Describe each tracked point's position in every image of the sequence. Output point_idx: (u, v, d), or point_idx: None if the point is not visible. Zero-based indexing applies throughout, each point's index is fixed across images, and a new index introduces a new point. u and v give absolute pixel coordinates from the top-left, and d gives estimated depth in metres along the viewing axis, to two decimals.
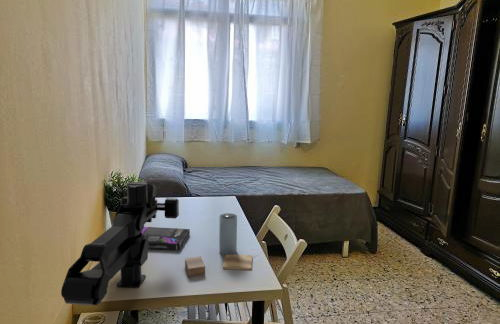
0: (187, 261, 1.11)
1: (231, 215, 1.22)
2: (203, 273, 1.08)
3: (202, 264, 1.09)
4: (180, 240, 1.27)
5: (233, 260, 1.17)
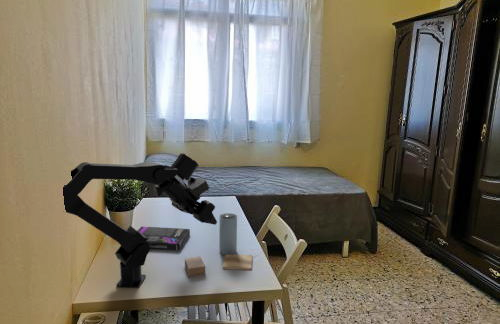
0: (187, 261, 1.11)
1: (231, 215, 1.22)
2: (203, 273, 1.08)
3: (202, 264, 1.09)
4: (180, 240, 1.27)
5: (233, 260, 1.17)
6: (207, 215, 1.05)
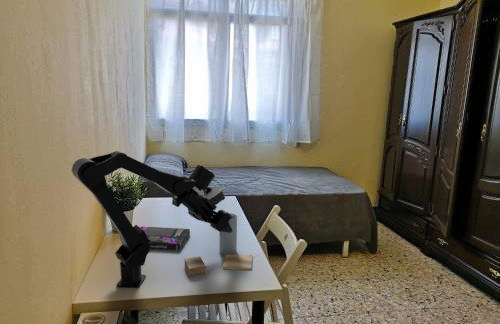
0: (187, 261, 1.11)
1: (231, 215, 1.22)
2: (203, 273, 1.08)
3: (202, 264, 1.09)
4: (180, 240, 1.27)
5: (233, 260, 1.17)
6: (224, 224, 1.10)
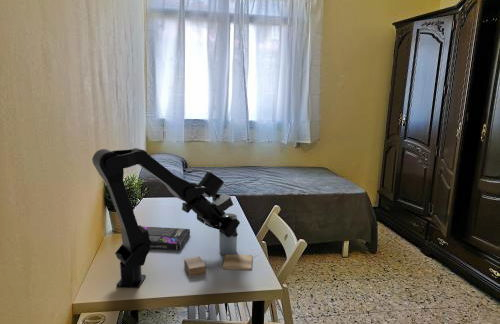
0: (187, 261, 1.11)
1: (231, 215, 1.22)
2: (204, 273, 1.08)
3: (202, 264, 1.09)
4: (180, 240, 1.27)
5: (233, 260, 1.17)
6: (232, 230, 1.12)
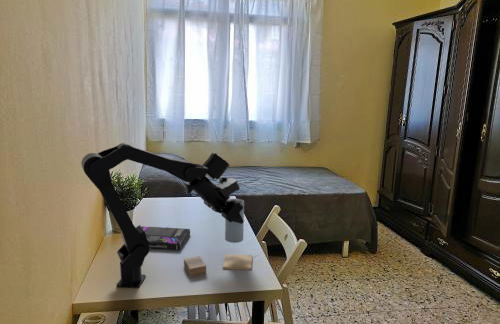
0: (187, 261, 1.11)
1: (238, 200, 1.17)
2: (204, 272, 1.09)
3: (203, 264, 1.09)
4: (180, 240, 1.27)
5: (233, 260, 1.17)
6: (235, 215, 1.06)
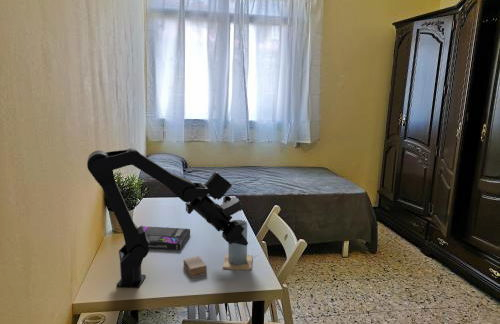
0: (187, 261, 1.11)
1: (241, 222, 1.14)
2: (204, 272, 1.09)
3: (203, 263, 1.09)
4: (180, 240, 1.27)
5: None
6: (235, 237, 1.04)
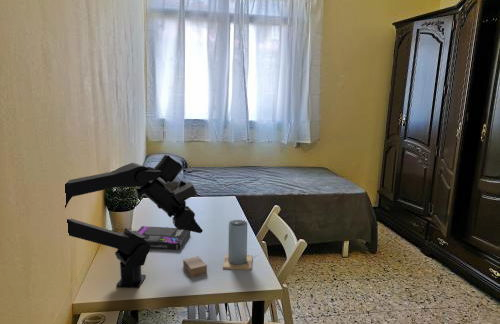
0: (187, 261, 1.11)
1: (241, 222, 1.14)
2: (205, 272, 1.09)
3: (203, 263, 1.10)
4: (180, 240, 1.27)
5: None
6: (184, 222, 0.99)
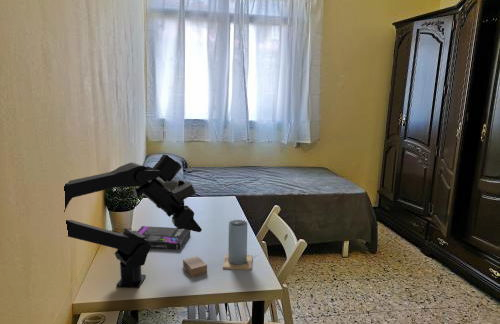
0: (187, 261, 1.11)
1: (241, 222, 1.14)
2: (205, 272, 1.09)
3: (203, 263, 1.10)
4: (181, 240, 1.27)
5: None
6: (184, 222, 0.99)
